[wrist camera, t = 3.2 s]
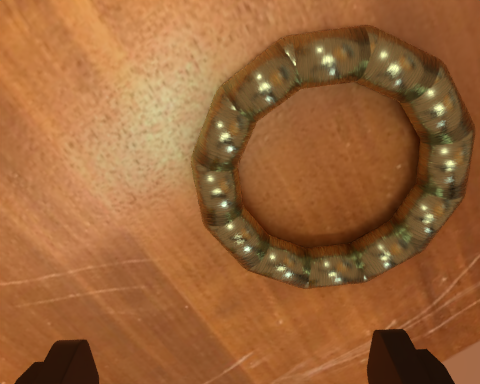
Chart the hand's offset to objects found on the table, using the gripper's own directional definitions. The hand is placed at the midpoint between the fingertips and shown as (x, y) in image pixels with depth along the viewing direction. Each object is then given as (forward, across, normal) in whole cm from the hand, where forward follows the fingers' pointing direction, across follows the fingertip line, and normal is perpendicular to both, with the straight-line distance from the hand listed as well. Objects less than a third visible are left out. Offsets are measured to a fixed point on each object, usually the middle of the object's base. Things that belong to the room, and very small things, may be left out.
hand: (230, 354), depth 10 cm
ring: (+6, -4, -3) cm, 8 cm away
